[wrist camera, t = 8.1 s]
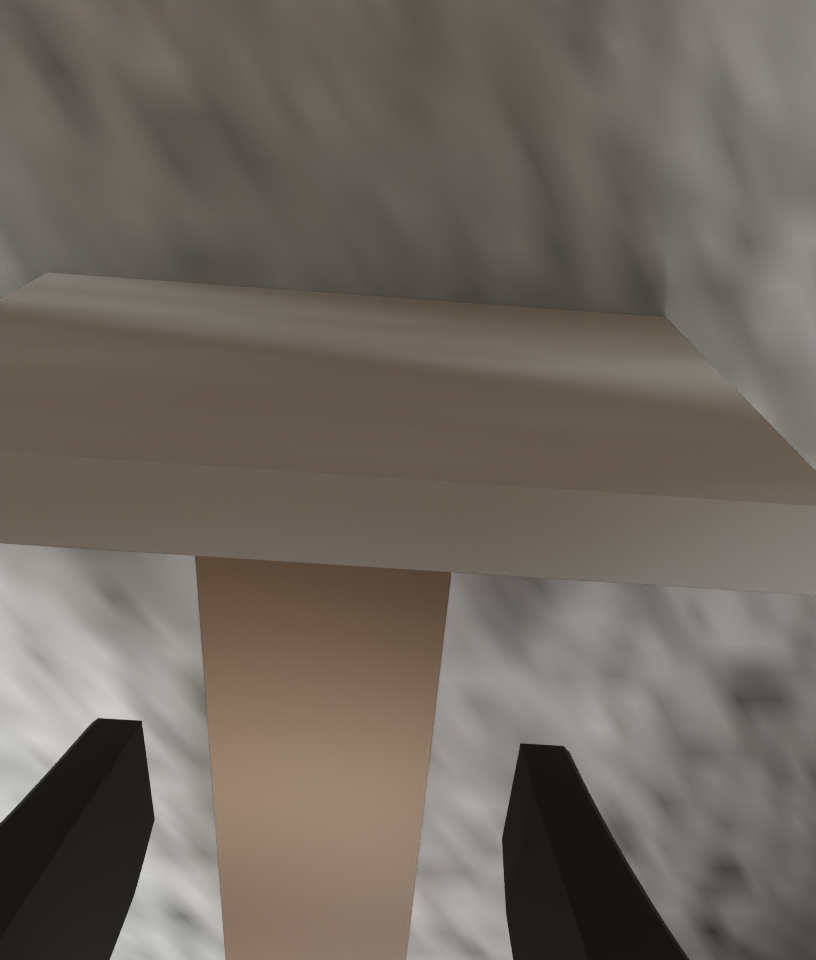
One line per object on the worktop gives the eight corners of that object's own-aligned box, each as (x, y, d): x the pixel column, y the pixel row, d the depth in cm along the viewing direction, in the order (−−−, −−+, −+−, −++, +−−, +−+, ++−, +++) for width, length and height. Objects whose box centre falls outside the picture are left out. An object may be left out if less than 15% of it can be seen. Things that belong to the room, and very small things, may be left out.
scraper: (517, 941, 17) (553, 1255, 12) (148, 921, 17) (49, 1232, 12) (663, 315, 10) (852, 508, 6) (50, 270, 10) (-245, 435, 6)
